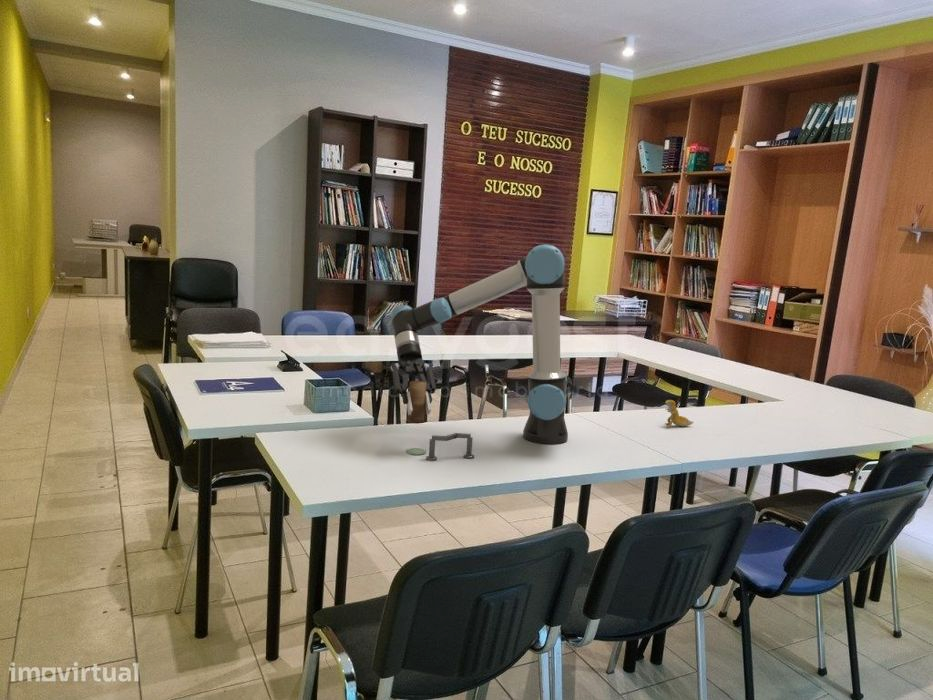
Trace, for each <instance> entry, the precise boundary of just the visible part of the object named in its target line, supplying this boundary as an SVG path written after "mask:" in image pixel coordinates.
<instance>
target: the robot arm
mask: <svg viewBox="0 0 933 700" xmlns="http://www.w3.org/2000/svg"><path fill="white" fill-rule="evenodd" d="M565 265H566V261H565V257H564V255H563V253H562V251H561V250H560V249H559V248H558V247H556V246H555V245H552V244H545V243H544V244H539V245H537V246H535V247H533V248H532V249H531V250H530V251H529V252H528V254H527V256H525V257H523V258H520V259H519V260H518V261H517V263H516V264H514V265H512V266H510V267H507V268H506V269H504V270H501V271H499V272H497V273H494V274H491V275H489V276H488V277H486V278H483V279H481V280H479V281H476V282H474V283H472V284H469V285H467V286H465V287H463V288H461V289H458V290H456V291H453V292H451V293H449V294H447V295H445V296H443V297H439V298H435V299H433V300H431V301H429V302H426V303H424V304H422V305H420V306H417V307H414V308H413V307H411V306H410V305H407V304H406V305H405V304H404V305H398V306H396V307H395V308H393V309H392V311H391V313H390V316H391V326H392V330H393V335H394V342H395V350H396V356H397V362H396V363H395V362H391V365H390V367H389V370H390V372H391V374H392V380H393V386H394V392H395V394H396V395H398V394H399V395H400V397H401V399H402V403H403V405H406V409H407V416H408V415H411V413H412V411H413V408H412V403H411V397H410V392H409V391H407V390H408V386H409V377H410V376H412V375H413V376H415V378H416V379H417V381H423V382H426V395H425V413H426V415H430V413H431V411H432V408H431V407H432V405H431V404H432V402H433V397H432V394H435V393H436V390H437V386H436V379H435V375H434V372H433V366H434V364H433V363H432V362H429V363H426V362H425V361H424V359H423V355H422V350H421V349H422V348H421V344H420V339H419V335H418V334H419V333H418V332H421V331H423V330H426V329H428V328H431V327H434V326H436V325H438V324H442V323H445V322H447V321H448V320H450V319H451V318H454V317H456V316H458V315H461V314H463V313H465V312H468V311H470V310H472V309H474V308H476V307H477V308H478V307H479V306H481V305H484V304H486V303H489V302H490V301H493V300H496V299H497V298H500V297H502V296H505V295H507V294H509V293H511V292H514V291H516V290H518V289H521V288H523V287H526V290H527V291H528V292H529V294H530V295H531V316H532V317H531V322H532V323H531V325H532V370H531V372H529V374H528V380H527V381H528V396H527V399H526V401H527V406H528V409H529V415H528V417H527V420H526V422H525V425H524V427H523V431H522V432H523V433H522V438H524V439H525V440H527V441H530V442H532V443H538V444H546V445H547V444H548V445H557V444H559V445H560V444H563V443H567V441H568V437H569V433H568V429H567V425H566V424H567V423H566V420H565V409H566V405H567V398H566V397H567V384H568V375H567V374H566V373H564V372H563V371H562V370H561V316H560V315H561V314H560V313H561V312H560V311H561V307H560V306H561V304H560V303H561V302H560V300H561V297H560V294H561V292H563V291H564V289H565ZM423 368H424V370H425V372H426V376H427V377H425V375H424V371H423ZM399 369H400V370H401V371H402V372H403V376H402V378H403V379H402V387H401V382H400V375H399Z"/></svg>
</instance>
